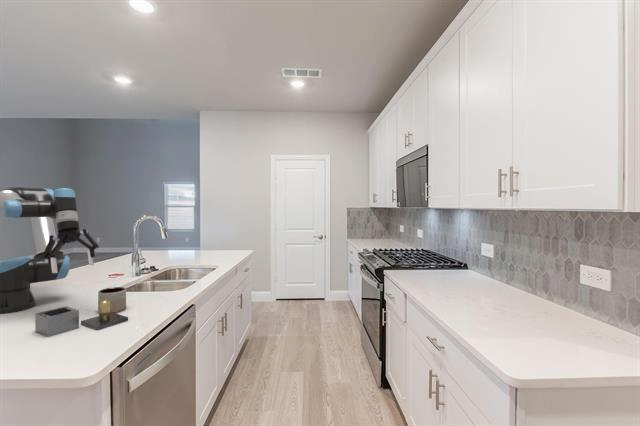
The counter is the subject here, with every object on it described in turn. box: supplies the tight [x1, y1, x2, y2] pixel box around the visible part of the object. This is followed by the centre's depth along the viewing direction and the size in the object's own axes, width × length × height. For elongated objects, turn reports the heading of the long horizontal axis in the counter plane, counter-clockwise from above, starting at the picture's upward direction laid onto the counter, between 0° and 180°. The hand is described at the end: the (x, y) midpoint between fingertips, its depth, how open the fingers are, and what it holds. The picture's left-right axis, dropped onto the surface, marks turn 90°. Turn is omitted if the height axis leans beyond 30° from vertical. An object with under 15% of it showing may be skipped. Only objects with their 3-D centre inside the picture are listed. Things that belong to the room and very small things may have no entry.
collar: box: [34, 305, 80, 338], centre depth 122 cm, size 10×10×7 cm
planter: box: [97, 286, 127, 314], centre depth 144 cm, size 11×11×10 cm
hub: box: [80, 300, 129, 331], centre depth 129 cm, size 12×12×9 cm
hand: (73, 269), depth 135 cm, fingers open, 13 cm apart
